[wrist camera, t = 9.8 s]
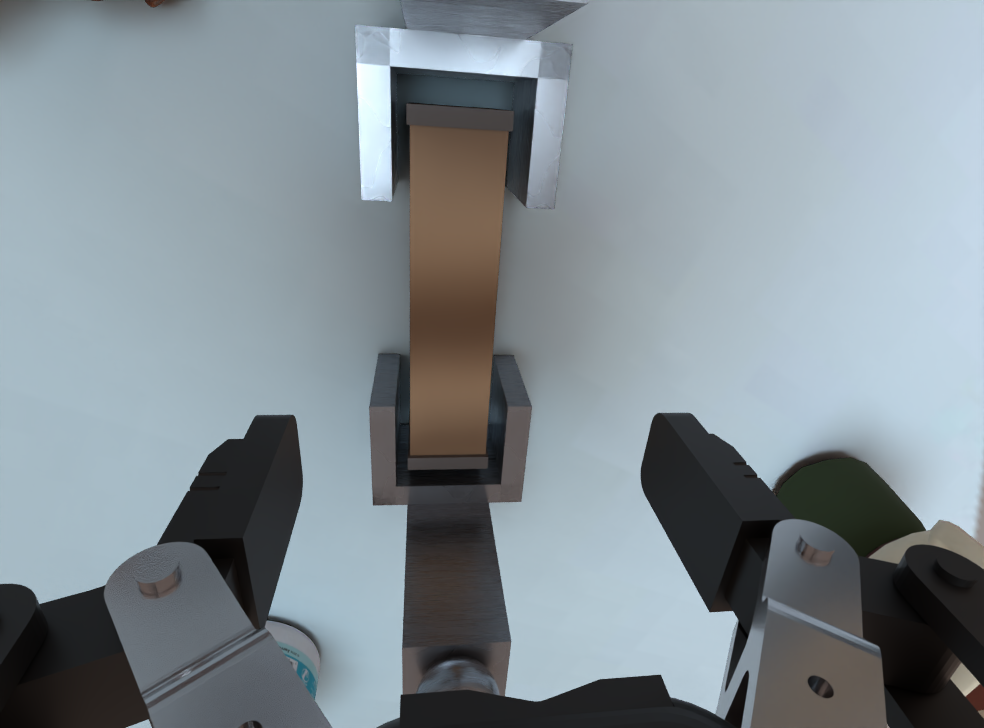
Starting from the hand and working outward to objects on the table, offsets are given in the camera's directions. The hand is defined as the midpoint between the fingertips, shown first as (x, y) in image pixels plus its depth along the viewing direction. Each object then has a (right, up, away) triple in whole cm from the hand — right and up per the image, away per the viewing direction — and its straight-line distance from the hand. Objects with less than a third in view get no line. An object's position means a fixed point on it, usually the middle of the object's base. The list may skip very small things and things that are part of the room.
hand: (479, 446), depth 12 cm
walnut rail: (-2, +6, +13) cm, 14 cm away
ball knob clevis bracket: (-2, +6, +13) cm, 14 cm away
